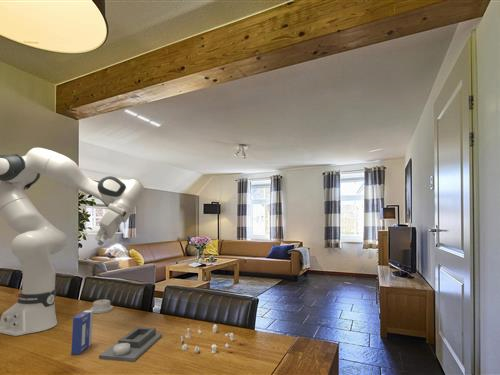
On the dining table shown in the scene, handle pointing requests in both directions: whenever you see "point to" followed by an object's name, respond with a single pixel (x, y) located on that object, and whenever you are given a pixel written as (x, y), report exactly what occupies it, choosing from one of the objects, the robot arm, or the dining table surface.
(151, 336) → the housing
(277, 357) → the dining table surface
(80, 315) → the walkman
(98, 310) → the mechanical component
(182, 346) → the game piece set
